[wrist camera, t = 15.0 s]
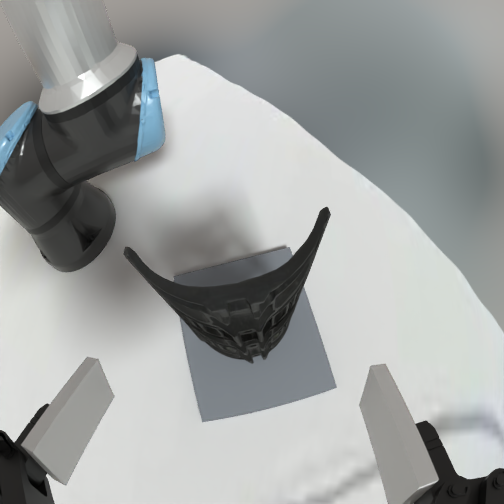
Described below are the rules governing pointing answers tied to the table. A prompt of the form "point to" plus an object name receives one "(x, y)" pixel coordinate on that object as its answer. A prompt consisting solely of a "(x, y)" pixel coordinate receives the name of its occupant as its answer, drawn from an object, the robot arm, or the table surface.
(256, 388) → the mat
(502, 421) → the table surface
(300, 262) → the holder
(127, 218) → the table surface
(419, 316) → the table surface
